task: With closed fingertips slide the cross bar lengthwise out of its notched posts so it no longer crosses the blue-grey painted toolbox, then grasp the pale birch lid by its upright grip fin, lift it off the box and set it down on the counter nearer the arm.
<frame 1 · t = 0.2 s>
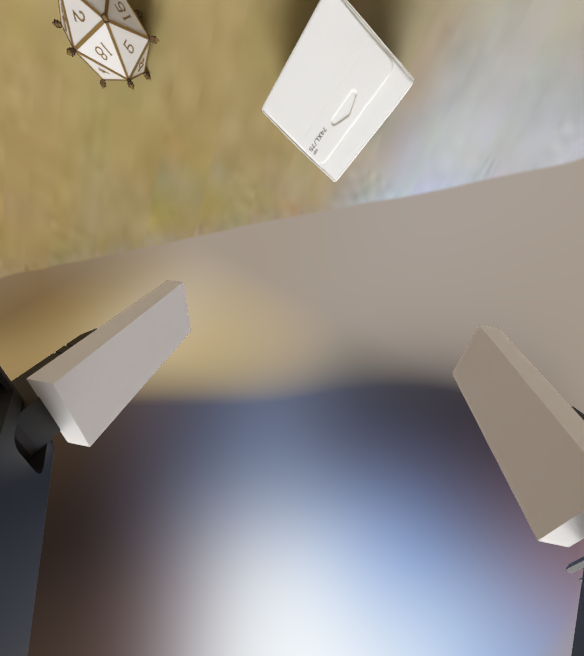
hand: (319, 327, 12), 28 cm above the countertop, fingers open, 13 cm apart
game die: (134, 47, 29), on the countertop
ink box: (336, 116, 30), on the countertop
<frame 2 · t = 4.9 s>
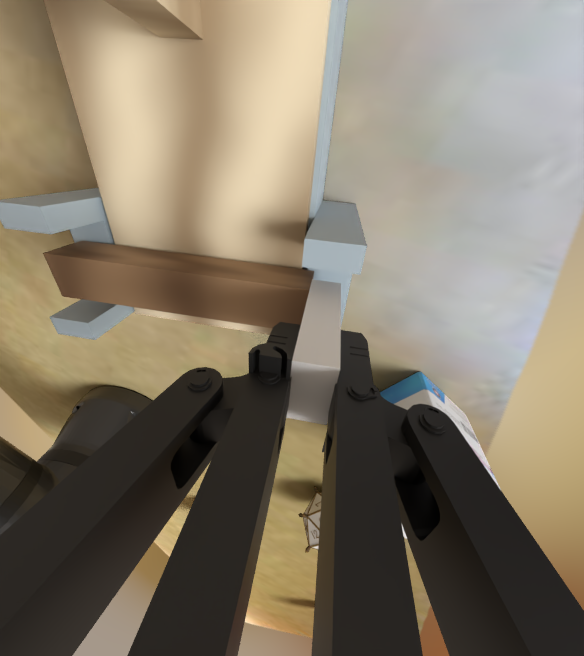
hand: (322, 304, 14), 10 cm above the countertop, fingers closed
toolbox: (245, 105, 18), on the countertop
cross bar: (185, 283, 15), point 10 cm above the countertop, slide at 0.6 cm, touching gripper
lid: (198, 79, 12), point 7 cm above the countertop, touching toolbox
game die: (328, 492, 44), on the countertop
ink box: (409, 407, 31), on the countertop
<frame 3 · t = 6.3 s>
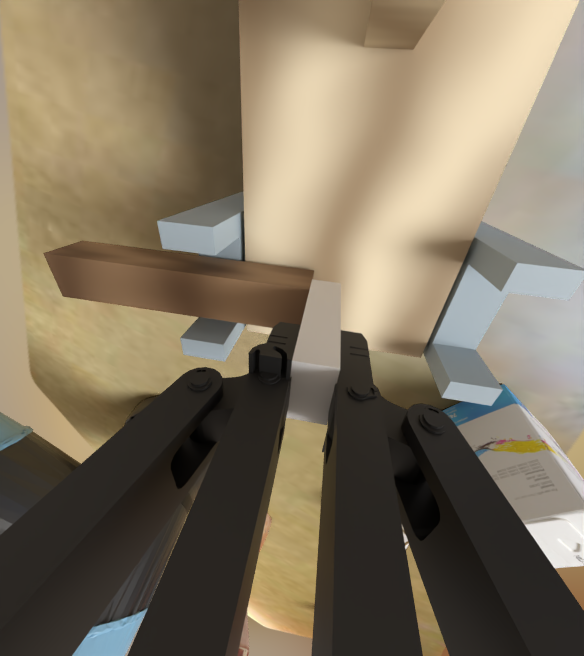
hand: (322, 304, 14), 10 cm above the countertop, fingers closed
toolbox: (366, 113, 17), on the countertop
cross bar: (185, 283, 15), point 10 cm above the countertop, slide at 8.7 cm, touching gripper
vase: (259, 514, 53), on the countertop
lid: (377, 91, 11), point 7 cm above the countertop, touching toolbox
ink box: (483, 419, 30), on the countertop
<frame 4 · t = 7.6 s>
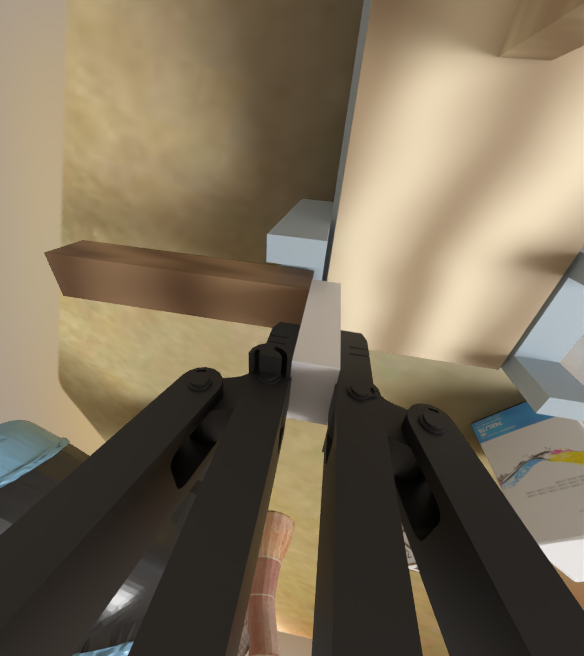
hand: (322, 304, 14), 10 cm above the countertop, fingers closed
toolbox: (442, 120, 17), on the countertop
cross bar: (186, 283, 15), point 10 cm above the countertop, slide at 13.5 cm, touching gripper
vase: (281, 519, 52), on the countertop
lid: (494, 101, 11), point 7 cm above the countertop, touching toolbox
ink box: (526, 426, 30), on the countertop
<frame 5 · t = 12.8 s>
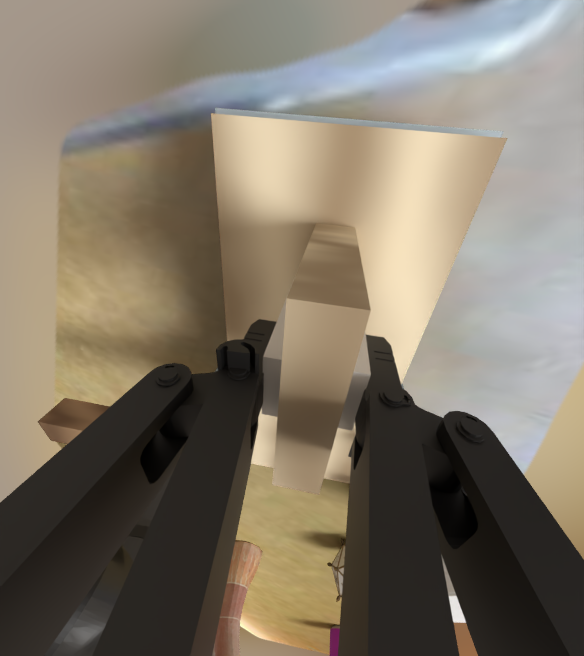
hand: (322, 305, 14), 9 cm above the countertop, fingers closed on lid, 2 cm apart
beverage can: (342, 627, 85), on the countertop
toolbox: (320, 309, 24), on the countertop
cross bar: (133, 434, 22), point 10 cm above the countertop, slide at 13.8 cm
vase: (251, 547, 59), on the countertop
lid: (313, 357, 18), point 7 cm above the countertop, touching gripper, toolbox
game die: (352, 543, 50), on the countertop
ink box: (429, 490, 37), on the countertop
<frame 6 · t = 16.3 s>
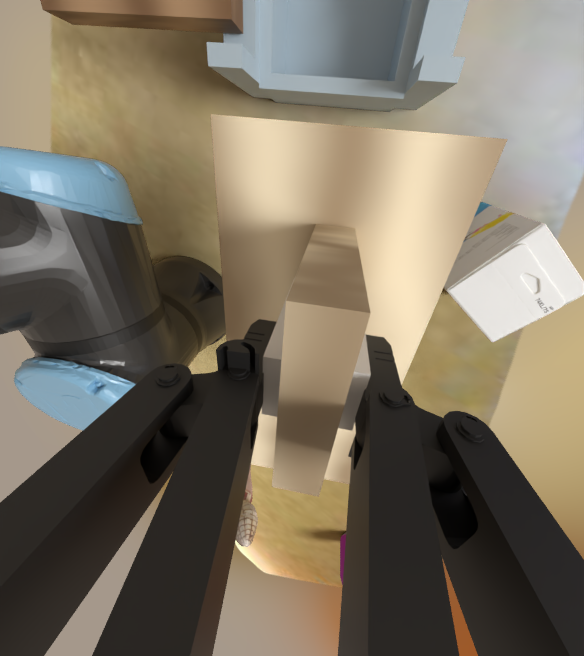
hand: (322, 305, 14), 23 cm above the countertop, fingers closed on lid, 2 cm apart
beverage can: (353, 535, 81), on the countertop
vase: (260, 409, 56), on the countertop
lid: (313, 358, 18), point 22 cm above the countertop, touching gripper
ink box: (465, 251, 33), on the countertop
when the fingers open (4 cm above the countertop, at t = 19.8 s): lid drops 2 cm, on the countertop.
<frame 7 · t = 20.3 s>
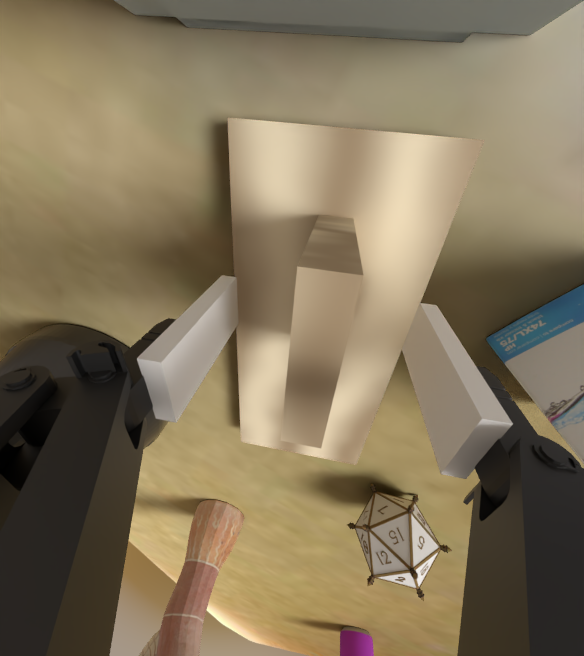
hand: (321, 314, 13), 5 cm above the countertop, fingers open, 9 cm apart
beverage can: (355, 629, 65), on the countertop
vase: (227, 510, 40), on the countertop
lid: (315, 341, 20), on the countertop
game die: (388, 493, 30), on the countertop
ink box: (581, 339, 17), on the countertop
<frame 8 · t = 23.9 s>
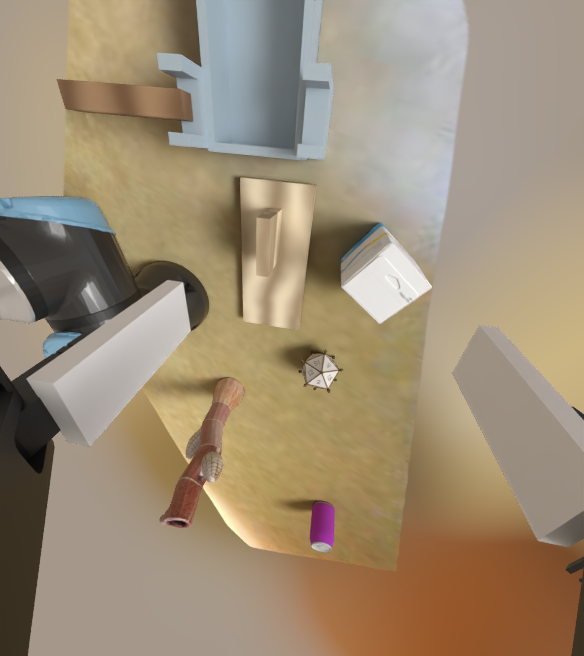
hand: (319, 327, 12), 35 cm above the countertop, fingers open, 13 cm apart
beverage can: (323, 505, 92), on the countertop
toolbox: (270, 26, 32), on the countertop
cross bar: (127, 101, 30), point 10 cm above the countertop, slide at 13.8 cm
vase: (235, 387, 67), on the countertop
lid: (275, 262, 47), on the countertop
game die: (321, 357, 58), on the countertop
ink box: (375, 258, 44), on the countertop
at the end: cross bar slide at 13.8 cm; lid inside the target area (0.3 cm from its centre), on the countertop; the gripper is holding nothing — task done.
